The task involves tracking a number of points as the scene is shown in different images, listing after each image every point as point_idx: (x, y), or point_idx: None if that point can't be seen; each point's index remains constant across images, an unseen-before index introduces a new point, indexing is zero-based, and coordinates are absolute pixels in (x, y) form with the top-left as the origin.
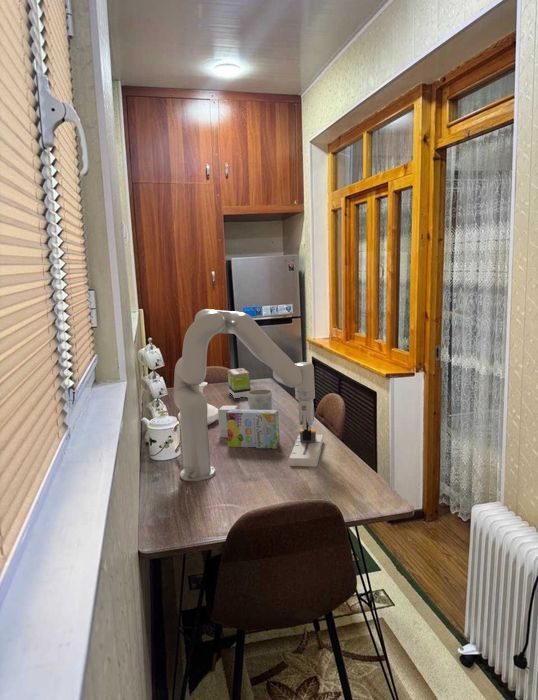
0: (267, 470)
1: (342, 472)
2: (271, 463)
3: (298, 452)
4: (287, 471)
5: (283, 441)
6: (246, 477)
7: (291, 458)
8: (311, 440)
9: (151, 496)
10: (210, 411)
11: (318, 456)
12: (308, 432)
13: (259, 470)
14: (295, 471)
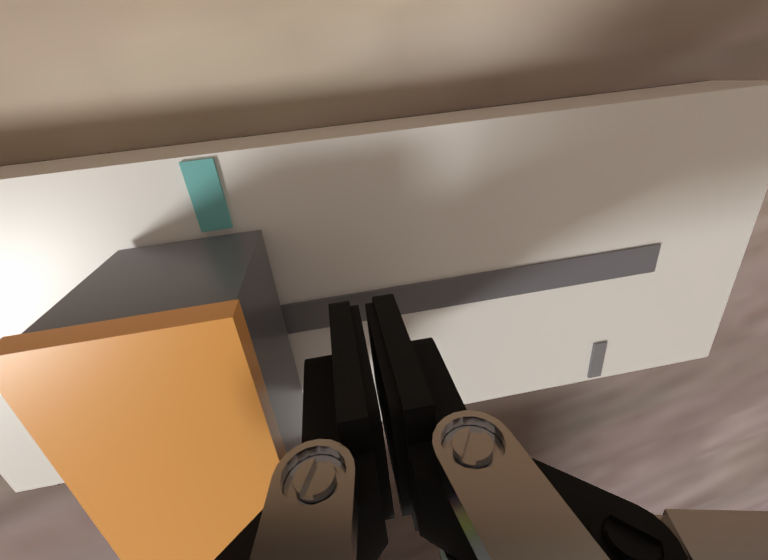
0: (697, 413)
1: None
2: (591, 432)
3: (586, 327)
4: (745, 300)
5: None
6: (761, 463)
7: (710, 338)
8: (272, 294)
9: None
10: None
11: (561, 102)
12: (439, 412)
13: (687, 447)
14: (762, 246)
